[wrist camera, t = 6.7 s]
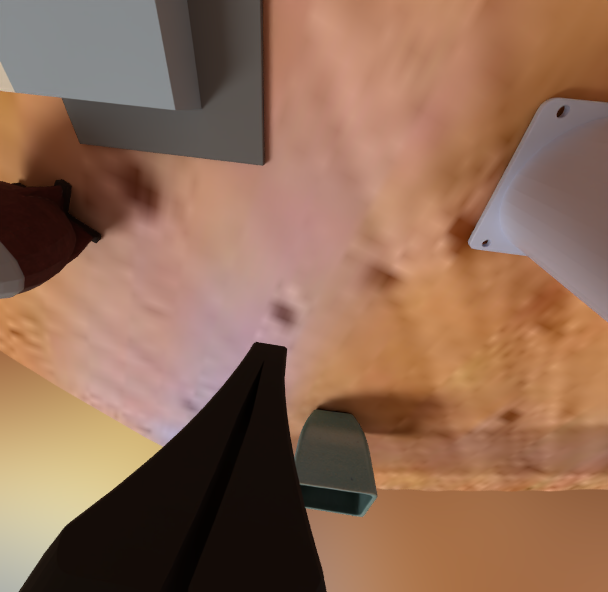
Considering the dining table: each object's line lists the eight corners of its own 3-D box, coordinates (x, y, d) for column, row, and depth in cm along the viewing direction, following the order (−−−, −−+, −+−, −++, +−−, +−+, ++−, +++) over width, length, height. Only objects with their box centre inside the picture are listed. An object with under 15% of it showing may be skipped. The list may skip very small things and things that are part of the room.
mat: (260, -173, 9) (257, -183, 9) (264, 164, 16) (262, 165, 15) (-45, -189, 10) (-58, -199, 9) (84, 142, 16) (80, 143, 16)
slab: (133, -116, 8) (-115, -133, 9) (175, 110, 12) (-1, 90, 12) (177, -70, 10) (-22, -85, 11) (201, 109, 14) (52, 92, 15)
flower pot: (359, 438, 36) (363, 519, 29) (299, 430, 37) (289, 506, 30) (370, 407, 31) (378, 496, 24) (300, 397, 32) (288, 481, 25)
